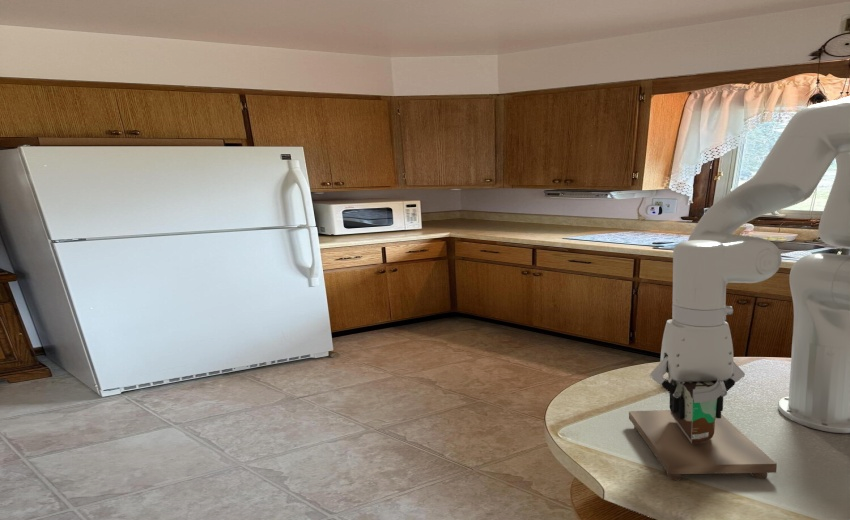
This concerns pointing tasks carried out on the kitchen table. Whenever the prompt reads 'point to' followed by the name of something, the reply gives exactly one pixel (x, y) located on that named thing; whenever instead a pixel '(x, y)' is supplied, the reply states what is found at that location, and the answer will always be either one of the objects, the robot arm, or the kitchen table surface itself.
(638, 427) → the tan square plate
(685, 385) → the food container
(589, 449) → the kitchen table surface
